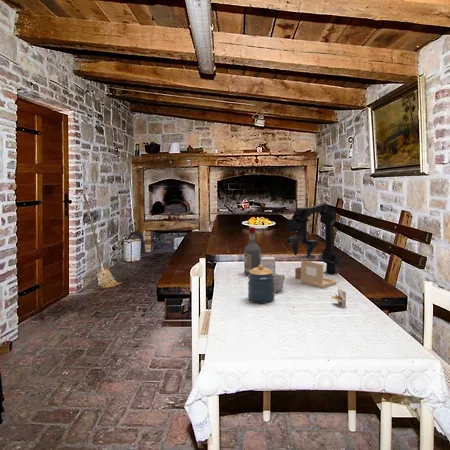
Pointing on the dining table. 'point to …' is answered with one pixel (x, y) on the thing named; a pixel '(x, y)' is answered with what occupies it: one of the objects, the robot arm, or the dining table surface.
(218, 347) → the dining table surface
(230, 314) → the dining table surface
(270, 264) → the ink box
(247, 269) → the liquor
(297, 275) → the walnut block
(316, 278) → the mailer lid
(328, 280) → the box
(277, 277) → the teacup
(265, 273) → the canister
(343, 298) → the architectural model
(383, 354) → the dining table surface
